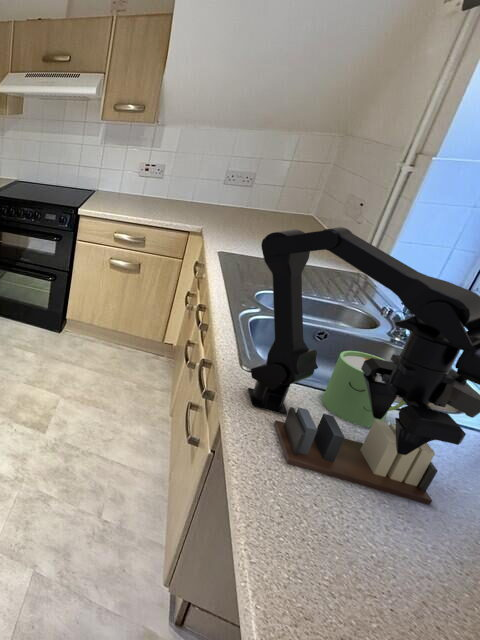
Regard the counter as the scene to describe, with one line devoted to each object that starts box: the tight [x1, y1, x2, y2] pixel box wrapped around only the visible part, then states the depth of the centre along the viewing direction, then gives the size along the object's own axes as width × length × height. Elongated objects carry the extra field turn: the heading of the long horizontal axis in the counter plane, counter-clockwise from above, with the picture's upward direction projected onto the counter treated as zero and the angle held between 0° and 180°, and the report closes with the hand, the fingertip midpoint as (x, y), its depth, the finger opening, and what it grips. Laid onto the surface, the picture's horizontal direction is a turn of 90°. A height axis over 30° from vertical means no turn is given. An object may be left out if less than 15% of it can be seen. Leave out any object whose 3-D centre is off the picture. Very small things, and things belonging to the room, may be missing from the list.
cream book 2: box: [387, 422, 419, 482], centre depth 74 cm, size 6×2×8 cm, turn 156°
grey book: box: [295, 407, 317, 455], centre depth 79 cm, size 6×2×6 cm, turn 156°
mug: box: [321, 350, 406, 428], centre depth 88 cm, size 13×10×12 cm
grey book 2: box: [314, 412, 346, 463], centre depth 78 cm, size 6×2×6 cm, turn 156°
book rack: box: [273, 406, 439, 506], centre depth 77 cm, size 11×20×6 cm, turn 66°
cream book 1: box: [360, 419, 397, 477], centre depth 75 cm, size 6×2×8 cm, turn 156°
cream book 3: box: [403, 442, 436, 486], centre depth 73 cm, size 6×2×8 cm, turn 156°
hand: (388, 434), depth 73 cm, fingers open, 9 cm apart
